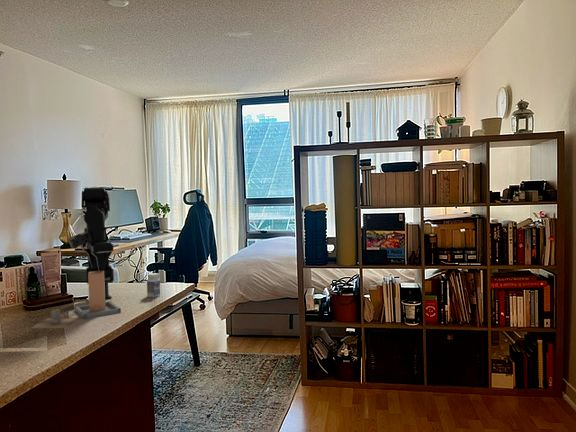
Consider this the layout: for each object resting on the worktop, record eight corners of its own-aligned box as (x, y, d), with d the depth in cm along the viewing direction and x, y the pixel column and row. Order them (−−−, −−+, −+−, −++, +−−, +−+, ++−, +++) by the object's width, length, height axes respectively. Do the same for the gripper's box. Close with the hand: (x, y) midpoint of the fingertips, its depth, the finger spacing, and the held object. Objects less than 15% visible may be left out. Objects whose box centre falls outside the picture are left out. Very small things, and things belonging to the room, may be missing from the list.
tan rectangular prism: (90, 310, 142) (88, 271, 141) (105, 308, 144) (104, 270, 143) (89, 315, 136) (87, 275, 135) (105, 313, 138) (103, 274, 137)
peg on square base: (48, 320, 134) (47, 306, 133) (80, 320, 134) (80, 305, 134) (29, 331, 124) (28, 315, 123) (64, 330, 124) (64, 315, 124)
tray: (75, 312, 142) (75, 306, 142) (110, 306, 149) (110, 301, 149) (84, 321, 133) (83, 314, 132) (120, 314, 139) (120, 308, 139)
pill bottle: (156, 297, 161) (155, 275, 161) (144, 297, 162) (144, 274, 162) (162, 294, 166) (161, 272, 165) (151, 294, 167) (150, 272, 166)
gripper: (63, 224, 148) (65, 269, 149) (75, 227, 133) (77, 277, 134) (98, 222, 155) (99, 265, 156) (113, 225, 140) (114, 273, 141)
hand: (97, 270), depth 147 cm, fingers open, 9 cm apart
